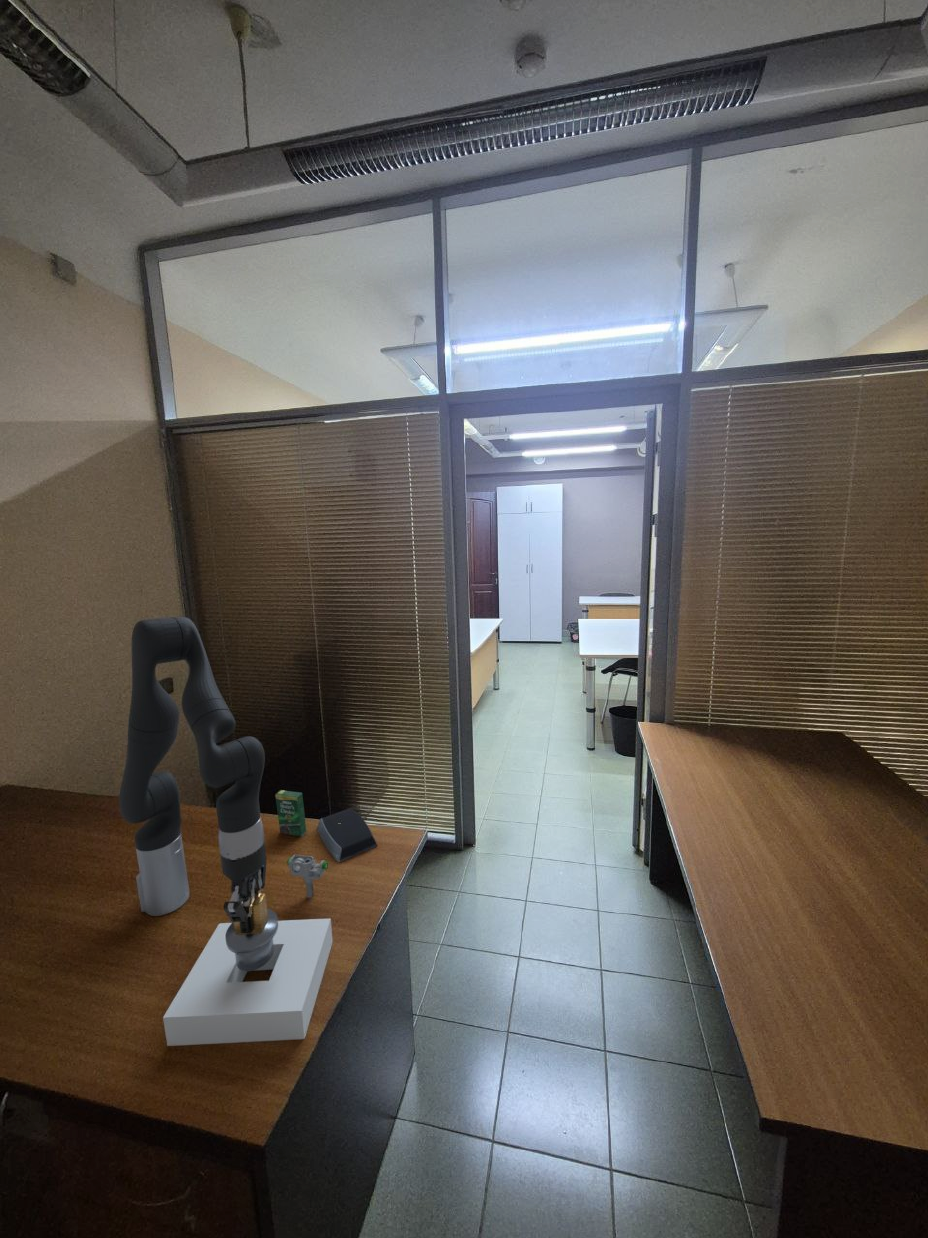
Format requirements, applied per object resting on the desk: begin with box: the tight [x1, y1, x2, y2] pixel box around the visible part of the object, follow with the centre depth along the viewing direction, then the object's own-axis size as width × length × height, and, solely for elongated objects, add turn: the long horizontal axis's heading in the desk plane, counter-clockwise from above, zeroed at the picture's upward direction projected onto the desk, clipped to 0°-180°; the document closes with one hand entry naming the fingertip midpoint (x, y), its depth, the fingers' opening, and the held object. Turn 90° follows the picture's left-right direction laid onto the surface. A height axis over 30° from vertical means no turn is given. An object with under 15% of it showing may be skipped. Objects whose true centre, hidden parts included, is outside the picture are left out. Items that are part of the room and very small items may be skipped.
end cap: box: [226, 893, 279, 972], centre depth 89 cm, size 9×9×12 cm
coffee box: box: [275, 789, 307, 837], centre depth 139 cm, size 8×3×13 cm, turn 73°
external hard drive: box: [316, 807, 378, 863], centre depth 138 cm, size 13×19×4 cm
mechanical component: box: [286, 854, 329, 899], centre depth 114 cm, size 3×10×10 cm, turn 78°
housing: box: [162, 918, 333, 1047], centre depth 91 cm, size 24×20×6 cm
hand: (251, 923), depth 89 cm, fingers closed on end cap, 3 cm apart
